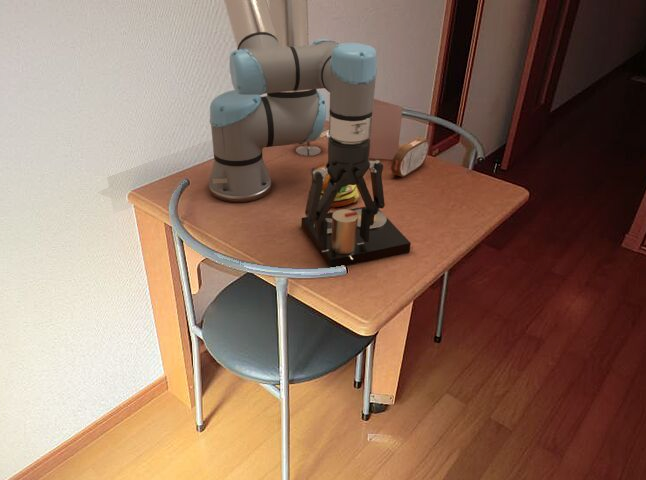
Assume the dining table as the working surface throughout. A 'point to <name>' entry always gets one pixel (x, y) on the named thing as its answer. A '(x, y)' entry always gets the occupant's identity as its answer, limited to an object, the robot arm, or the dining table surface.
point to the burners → (378, 221)
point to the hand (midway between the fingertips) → (343, 242)
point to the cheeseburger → (341, 193)
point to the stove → (361, 244)
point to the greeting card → (385, 130)
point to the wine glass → (308, 150)
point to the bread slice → (410, 156)
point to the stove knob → (344, 231)
